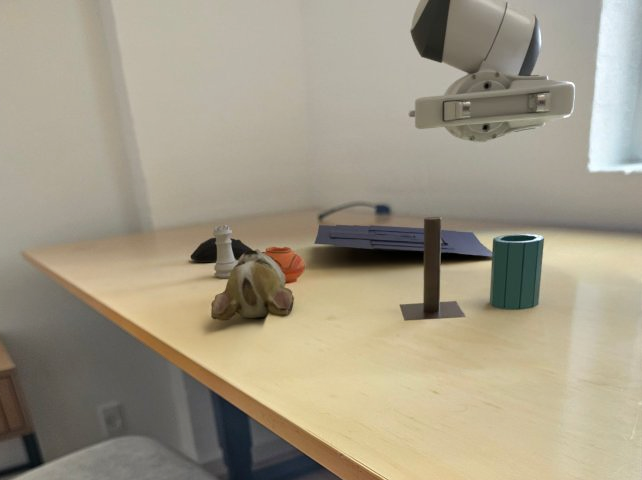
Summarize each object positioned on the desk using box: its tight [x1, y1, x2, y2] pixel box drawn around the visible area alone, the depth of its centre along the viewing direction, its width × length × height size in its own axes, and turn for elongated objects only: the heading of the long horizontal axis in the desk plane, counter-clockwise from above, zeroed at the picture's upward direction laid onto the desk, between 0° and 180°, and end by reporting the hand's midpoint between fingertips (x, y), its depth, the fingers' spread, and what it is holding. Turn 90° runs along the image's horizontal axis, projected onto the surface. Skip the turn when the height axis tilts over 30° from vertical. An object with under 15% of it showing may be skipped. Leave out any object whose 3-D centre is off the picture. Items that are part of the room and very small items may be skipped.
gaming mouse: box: [190, 237, 265, 263], centre depth 125 cm, size 6×15×4 cm, turn 97°
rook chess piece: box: [212, 224, 238, 279], centre depth 109 cm, size 4×4×8 cm
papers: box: [314, 224, 492, 257], centre depth 118 cm, size 24×30×4 cm
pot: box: [263, 246, 306, 284], centre depth 99 cm, size 8×8×7 cm
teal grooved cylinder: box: [489, 233, 545, 311], centre depth 77 cm, size 5×6×9 cm
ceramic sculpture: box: [210, 248, 295, 322], centre depth 86 cm, size 11×9×15 cm
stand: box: [399, 216, 467, 322], centre depth 76 cm, size 7×7×12 cm
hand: (503, 106), depth 80 cm, fingers open, 8 cm apart
